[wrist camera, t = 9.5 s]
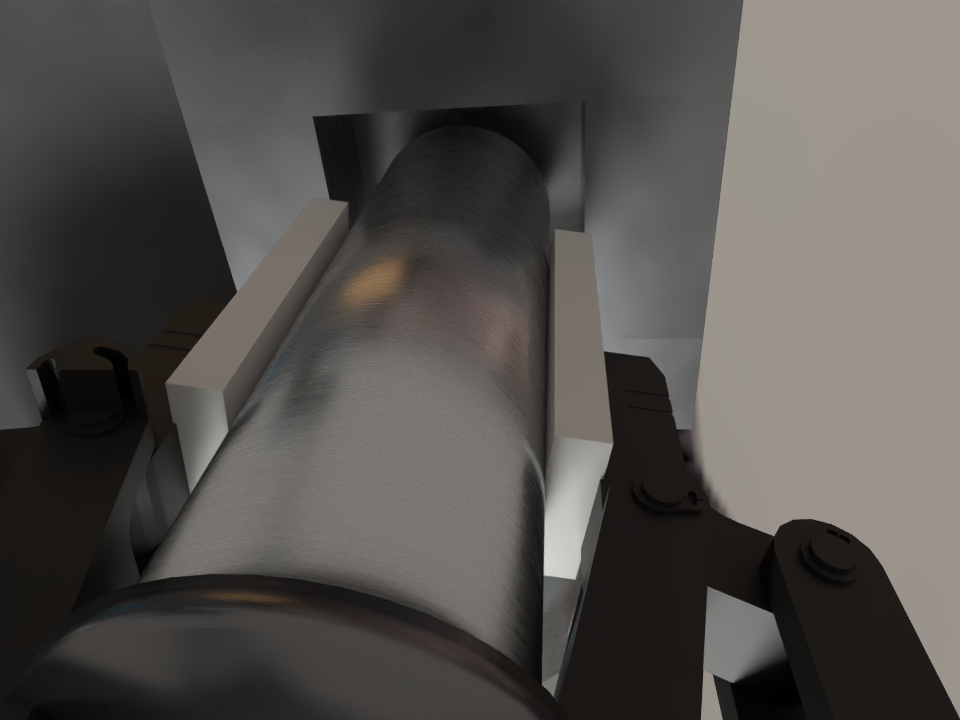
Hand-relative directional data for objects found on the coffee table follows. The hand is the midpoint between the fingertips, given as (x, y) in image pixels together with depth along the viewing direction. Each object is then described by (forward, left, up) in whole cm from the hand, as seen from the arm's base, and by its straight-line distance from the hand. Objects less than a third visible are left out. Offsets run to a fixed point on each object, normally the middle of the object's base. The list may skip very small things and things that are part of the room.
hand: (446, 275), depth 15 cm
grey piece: (+5, 0, -7) cm, 9 cm away
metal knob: (0, 0, -3) cm, 3 cm away
